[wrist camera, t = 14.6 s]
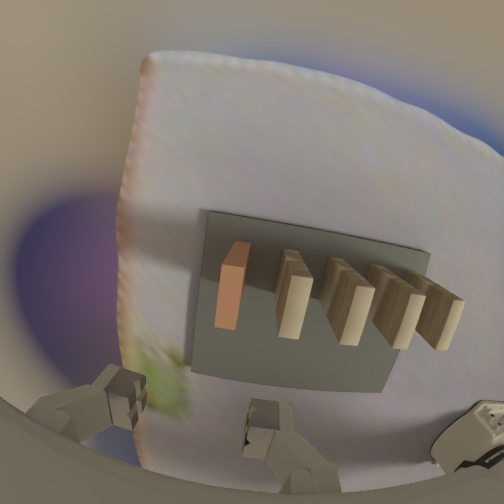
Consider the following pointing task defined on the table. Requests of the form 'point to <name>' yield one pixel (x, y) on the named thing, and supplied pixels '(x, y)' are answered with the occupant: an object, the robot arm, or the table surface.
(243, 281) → the end domino
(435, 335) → the domino
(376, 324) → the domino
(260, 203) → the table surface
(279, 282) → the domino
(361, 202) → the table surface
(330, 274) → the domino
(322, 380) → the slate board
